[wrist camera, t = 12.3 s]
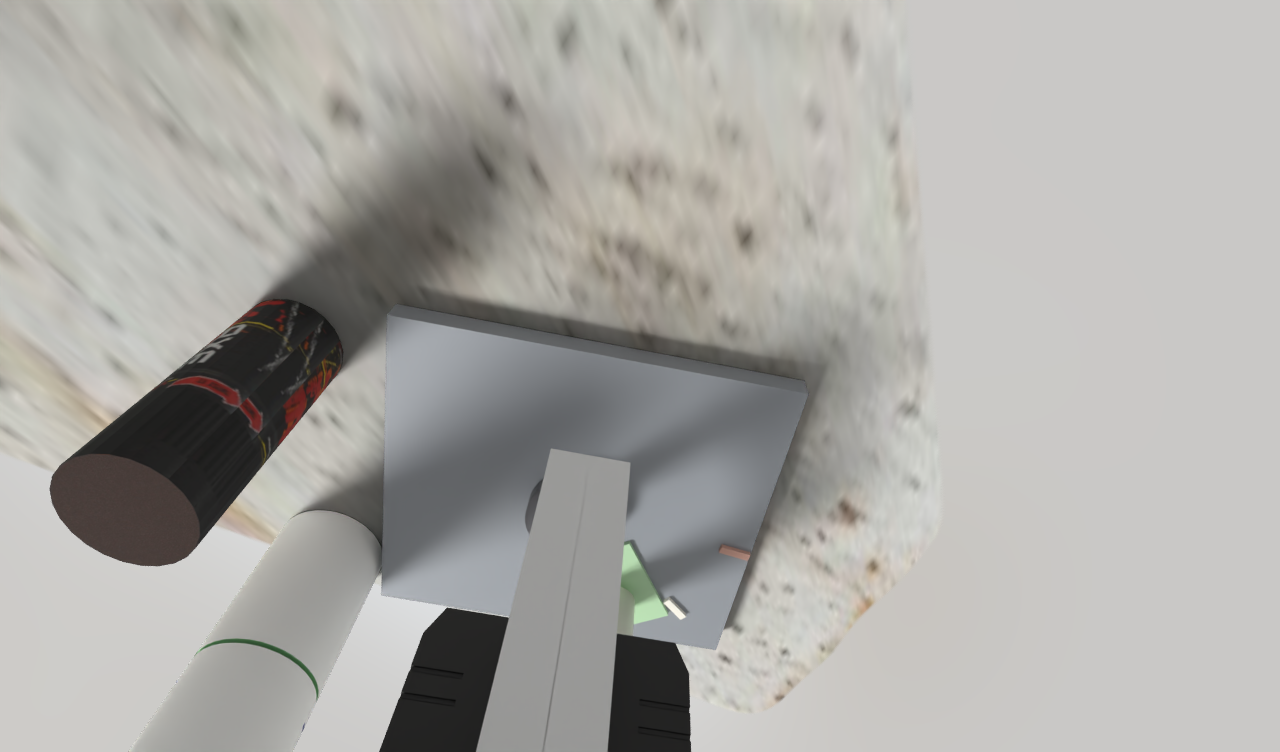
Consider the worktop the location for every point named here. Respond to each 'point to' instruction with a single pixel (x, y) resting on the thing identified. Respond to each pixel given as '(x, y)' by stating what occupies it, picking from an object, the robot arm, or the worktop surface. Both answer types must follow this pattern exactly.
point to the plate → (581, 423)
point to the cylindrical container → (272, 643)
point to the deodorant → (197, 437)
